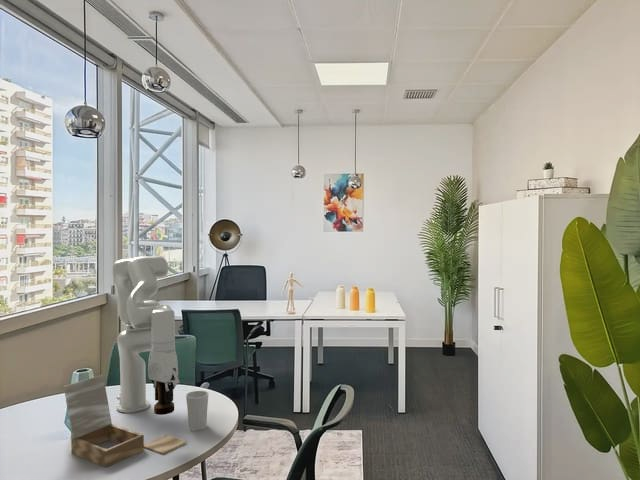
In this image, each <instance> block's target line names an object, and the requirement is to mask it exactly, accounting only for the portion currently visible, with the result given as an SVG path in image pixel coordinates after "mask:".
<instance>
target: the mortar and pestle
mask: <svg viewBox="0 0 640 480" xmlns="http://www.w3.org/2000/svg"><path fill="white" fill-rule="evenodd" d="M157 382H158V381H157ZM169 385H170V383H169ZM165 391H166V388H165V383H162V382H158V400H157V402H156V403H155V404H154V405H153V414H155V415H157V416H158V415H161V416H162V415H163V416H164V415H168V414H172V413H174V411H175V402H173V401H171V402H168V403H165V396H164V392H165Z"/></svg>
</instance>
